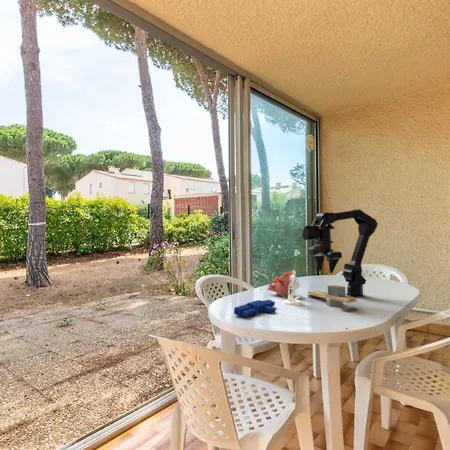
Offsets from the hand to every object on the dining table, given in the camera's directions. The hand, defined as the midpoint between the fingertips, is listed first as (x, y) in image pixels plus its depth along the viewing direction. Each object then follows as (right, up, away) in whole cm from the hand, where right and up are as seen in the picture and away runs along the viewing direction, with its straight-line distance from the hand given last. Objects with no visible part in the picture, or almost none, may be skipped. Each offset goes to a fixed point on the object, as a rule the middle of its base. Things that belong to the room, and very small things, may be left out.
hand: (325, 271), depth 162 cm
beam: (-1, -10, -10) cm, 14 cm away
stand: (-1, -13, -9) cm, 16 cm away
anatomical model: (-20, -13, +8) cm, 25 cm away
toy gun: (-34, -14, -23) cm, 43 cm away
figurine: (-18, -13, -8) cm, 23 cm away
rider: (+1, -9, -14) cm, 16 cm away
